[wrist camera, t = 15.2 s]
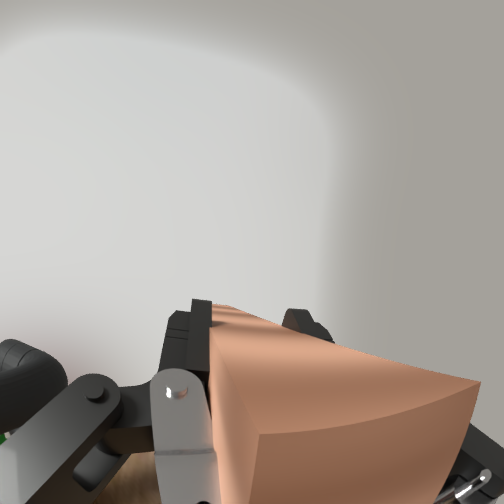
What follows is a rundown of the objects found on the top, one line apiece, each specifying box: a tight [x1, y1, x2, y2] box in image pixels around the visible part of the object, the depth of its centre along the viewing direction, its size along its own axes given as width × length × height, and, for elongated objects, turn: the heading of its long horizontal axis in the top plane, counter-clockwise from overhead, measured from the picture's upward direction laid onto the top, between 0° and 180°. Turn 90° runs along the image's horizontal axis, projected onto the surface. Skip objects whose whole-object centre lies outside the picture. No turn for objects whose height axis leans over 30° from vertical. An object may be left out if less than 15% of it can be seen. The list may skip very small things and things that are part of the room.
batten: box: [206, 304, 481, 504], centre depth 14 cm, size 26×3×3 cm, turn 12°
